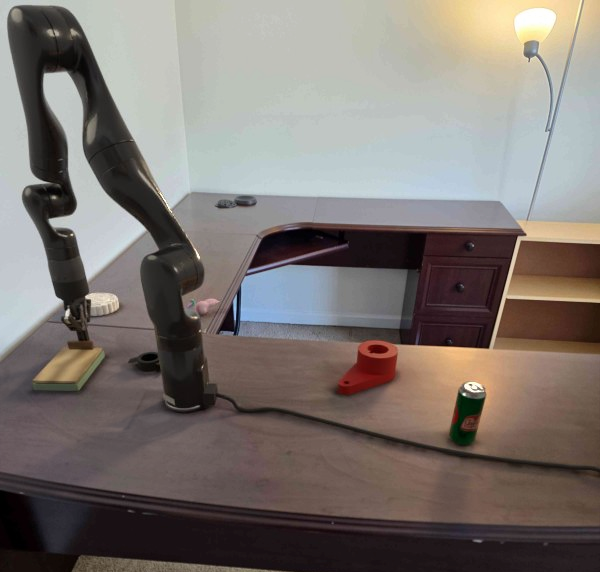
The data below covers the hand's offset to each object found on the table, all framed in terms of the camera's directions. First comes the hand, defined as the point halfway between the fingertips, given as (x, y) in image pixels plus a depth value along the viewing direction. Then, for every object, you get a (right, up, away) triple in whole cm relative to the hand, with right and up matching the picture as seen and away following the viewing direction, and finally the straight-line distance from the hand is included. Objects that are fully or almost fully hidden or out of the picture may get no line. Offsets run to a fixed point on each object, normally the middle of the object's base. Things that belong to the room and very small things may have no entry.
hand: (84, 342), depth 125 cm
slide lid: (0, -6, -8) cm, 10 cm away
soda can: (+86, -22, -26) cm, 93 cm away
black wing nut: (+18, -7, -3) cm, 19 cm away
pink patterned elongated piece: (+24, +11, +25) cm, 36 cm away
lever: (+70, -10, -7) cm, 71 cm away
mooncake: (-8, +13, +28) cm, 32 cm away
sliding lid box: (0, -8, -6) cm, 10 cm away
